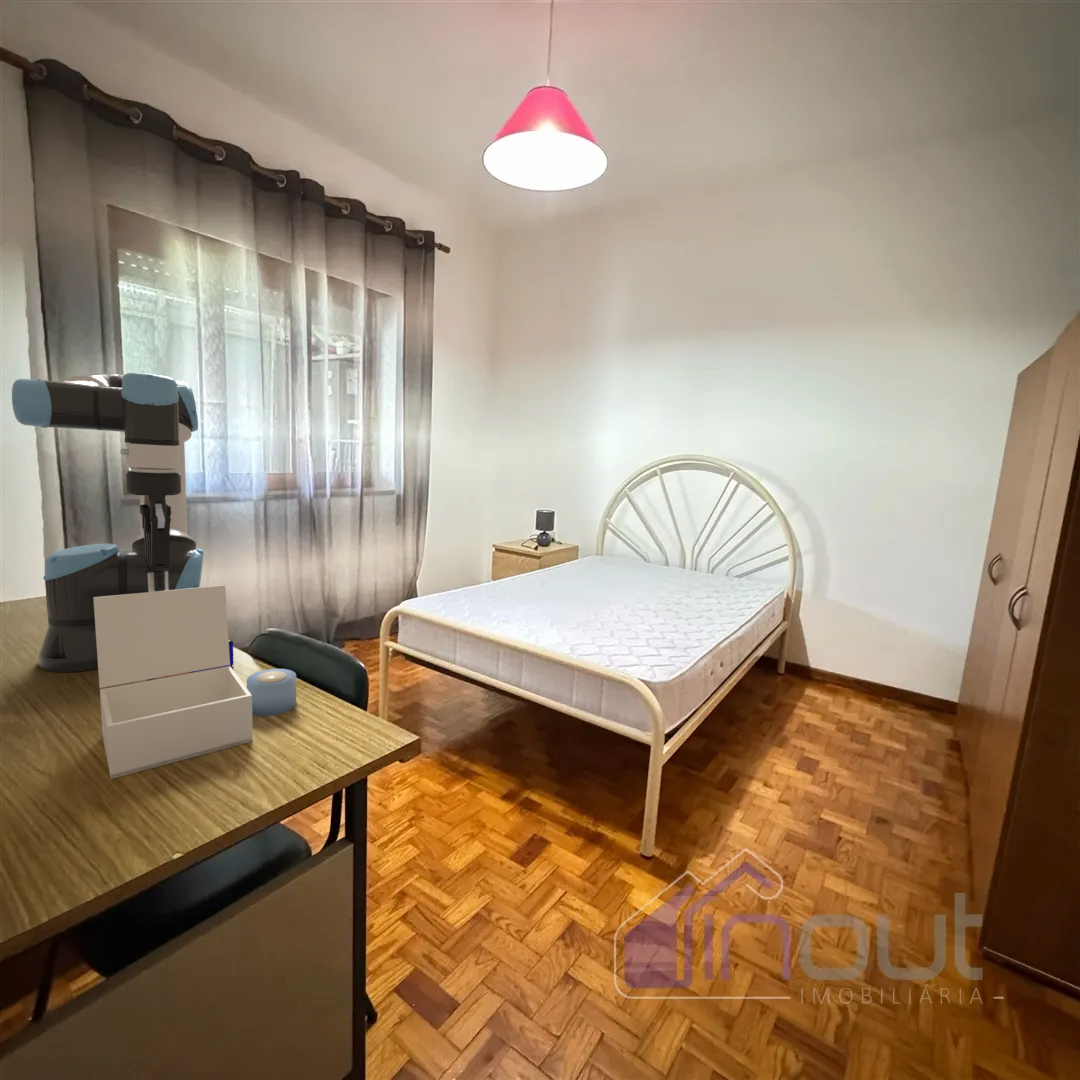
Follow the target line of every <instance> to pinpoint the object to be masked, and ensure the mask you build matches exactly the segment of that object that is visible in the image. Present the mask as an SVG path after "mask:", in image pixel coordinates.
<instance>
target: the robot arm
mask: <svg viewBox="0 0 1080 1080" xmlns="http://www.w3.org/2000/svg"><path fill="white" fill-rule="evenodd" d="M11 404H12V405H11V406H12V411H13V414H14V417H15V419H16V420H17V422H18V423H20V424H21V425H23V426H24V425H25V426H32V427H39V428H44V429H47V428H56V429H72V430H93V431H94V430H97V431H106V432H107V431H109V432H121V433H124V447H125V448H121V449H120V450H119V452H120V455H123V456H125V466H126V467H127V468H128V469H129V468H130V470H129V471H128V470H127V472H126V473H125V480H126V481H125V482H126V491H127V493H128V494H130V495H134V496H140V497H139V498H140V500H139V501H140V503H139V513H140V535H139V536H138V537H137V538H135V539H134V540H133V541H132V543H131V550H125V551H124V550H122V551H120V548H119V547H118V545H117V544H116V543H94V544H86V545H85V544H84V545H79V546H72V547H67V548H65V549H60V550H57V551H55V552H52V553H50V554H49V555H48V556H47V557H46V558H45V561H44V576H43V580H44V585H45V599H46V610H47V621H48V624H47V625H48V626H47V629H46V633H45V636H44V638H43V640H42V643H41V647H40V650H39V653H38V662H39V664H38V665H39V668H41V669H43V670H45V671H49V672H55V673H72V672H82V671H90V670H91V671H92V670H96V669H97V670H98V657H97V643H96V628H95V613H94V599H93V597H103V596H113V595H124V594H134V593H145V592H156V591H166V590H177V589H187V588H198V587H201V580H202V574H203V573H202V571H203V562H204V552H205V551H204V549H203V548H199V547H197V542H196V540H195V539H194V538H193V537H191V536H190V535H188V518H187V517H188V514H187V513H188V511H187V484H186V483H187V480H186V459H185V458H186V453H185V452H186V451H185V443H186V442H187V441H189V440H190V439H191V438H192V433H194V432H197V431H198V430H199V419H198V418H199V417H198V413H197V405H196V399H195V395H194V392H193V389H192V387H191V386H190V384H189V383H187V382H185V381H180V380H175V378H172V377H170V376H165V375H158V374H151V373H141V372H128V373H125V374H120V373H91V374H90V373H89V374H81V375H74V376H71V377H67V378H66V379H64V380H62V381H54V380H45V379H39V378H35V379H30V378H18V379H16V380H15V381H14V382H13V385H12V388H11Z"/></svg>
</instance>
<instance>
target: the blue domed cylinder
mask: <svg viewBox="0 0 1080 1080" xmlns="http://www.w3.org/2000/svg"><path fill="white" fill-rule="evenodd" d="M246 688H247V689H248V691H249V692H250V693H251V695H252V716H255V717H275V716H279V715H284V714H286V713H288V712H290V711H291V710H293V709H294V708H295V707H296V706H297V674H296V672H295V671H293V670H291V669H286V668H271V669H263V670H259V671H256V672H253V673H251V675H249V676H248V677H246Z"/></svg>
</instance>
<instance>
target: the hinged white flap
mask: <svg viewBox="0 0 1080 1080" xmlns="http://www.w3.org/2000/svg"><path fill="white" fill-rule="evenodd" d="M226 590H227V589H226V585H225V584H223V585H222V584H221V585H210V586H203V587H202V586H200V587H198V588H187V589H177V590H166V591H156V592H145V593H134V594H124V595H113V596H103V597H93V599H94V613H95V628H96V643H97V657H98V668H97V670H98V683H99V689H104V688H109V687H115V686H121V685H126V684H132V683H137V682H143V681H145V680H148V679H153V678H159V677H164V676H170V675H176V674H181V673H187V672H192V671H198V670H204V669H209V668H215V667H220V666H226V665H230V655H229V640H230V639H229V626H228V608H227V592H226Z"/></svg>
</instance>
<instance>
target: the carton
mask: <svg viewBox="0 0 1080 1080" xmlns="http://www.w3.org/2000/svg"><path fill="white" fill-rule="evenodd" d="M99 695H100V699H99V700H100V714H101V715H100V716H101V729H102V732H101V733H102V739H103V745H104V751H105V756H106V762H107V767H108V772H109V778H110V780H112V779H116V778H120V777H123V776H127V775H131V774H135V773H140V772H143V771H147V770H151V769H154V768H159V767H161V766H166V765H169V764H173V763H176V762H180V761H185V760H188V759H192V758H195V757H200V756H202V755H206V754H210V753H215V752H217V751H221V750H222V751H223V750H225V749H229V748H233V747H238V746H240V745H244V744H248V743H252V742H253V741H254V740H253V735H254V734H253V715H252V695H251V693H250V692H249V691H248V689H247V686H246V685H245V683H244V682H243V681H242V680H241V678H240V677H239V676H238V674H237V673H236V672H235V669H234V670H233V669H232V668H231V666H226V667H221V668H215V669H210V670H204V671H199V672H193V673H188V674H182V675H176V676H171V677H165V678H160V679H154V680H149V681H145V680H142V681H136V682H131V683H125V684H120V685H114V686H109V687H103V688H99Z"/></svg>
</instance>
